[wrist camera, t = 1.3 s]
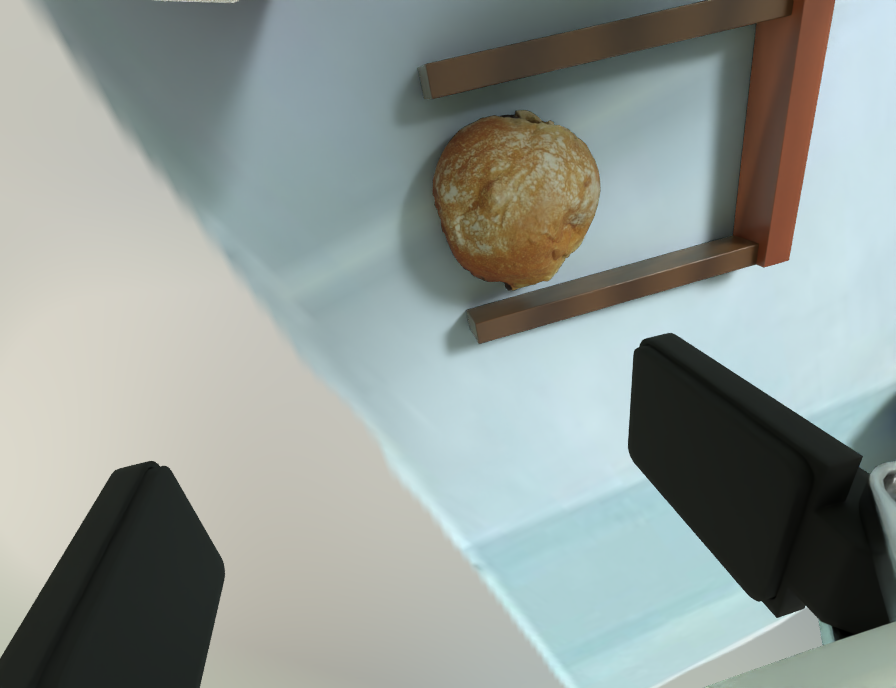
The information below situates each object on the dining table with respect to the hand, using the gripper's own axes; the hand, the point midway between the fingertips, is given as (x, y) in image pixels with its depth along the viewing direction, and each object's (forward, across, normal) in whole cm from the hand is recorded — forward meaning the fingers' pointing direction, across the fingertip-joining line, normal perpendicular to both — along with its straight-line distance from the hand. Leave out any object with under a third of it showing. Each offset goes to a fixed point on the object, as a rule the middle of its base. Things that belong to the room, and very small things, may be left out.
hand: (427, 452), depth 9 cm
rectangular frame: (+22, -17, 0) cm, 28 cm away
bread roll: (+22, -9, 0) cm, 24 cm away
